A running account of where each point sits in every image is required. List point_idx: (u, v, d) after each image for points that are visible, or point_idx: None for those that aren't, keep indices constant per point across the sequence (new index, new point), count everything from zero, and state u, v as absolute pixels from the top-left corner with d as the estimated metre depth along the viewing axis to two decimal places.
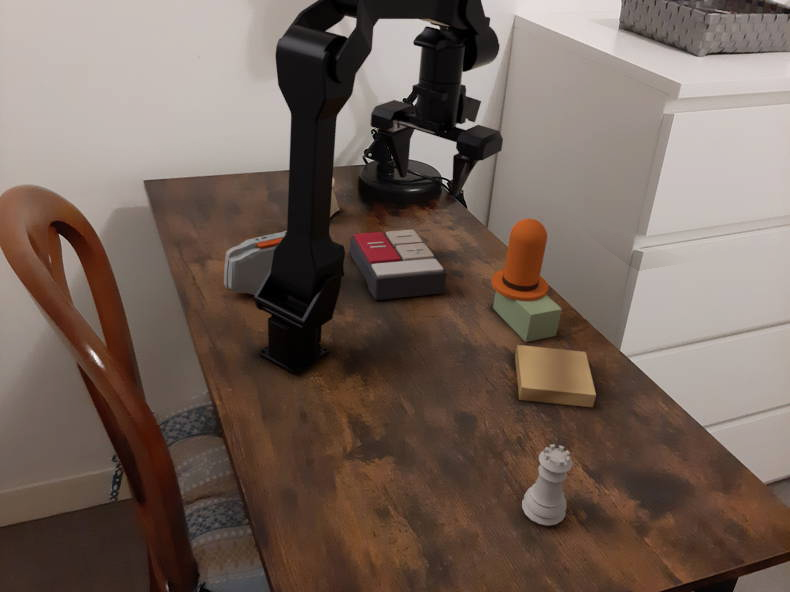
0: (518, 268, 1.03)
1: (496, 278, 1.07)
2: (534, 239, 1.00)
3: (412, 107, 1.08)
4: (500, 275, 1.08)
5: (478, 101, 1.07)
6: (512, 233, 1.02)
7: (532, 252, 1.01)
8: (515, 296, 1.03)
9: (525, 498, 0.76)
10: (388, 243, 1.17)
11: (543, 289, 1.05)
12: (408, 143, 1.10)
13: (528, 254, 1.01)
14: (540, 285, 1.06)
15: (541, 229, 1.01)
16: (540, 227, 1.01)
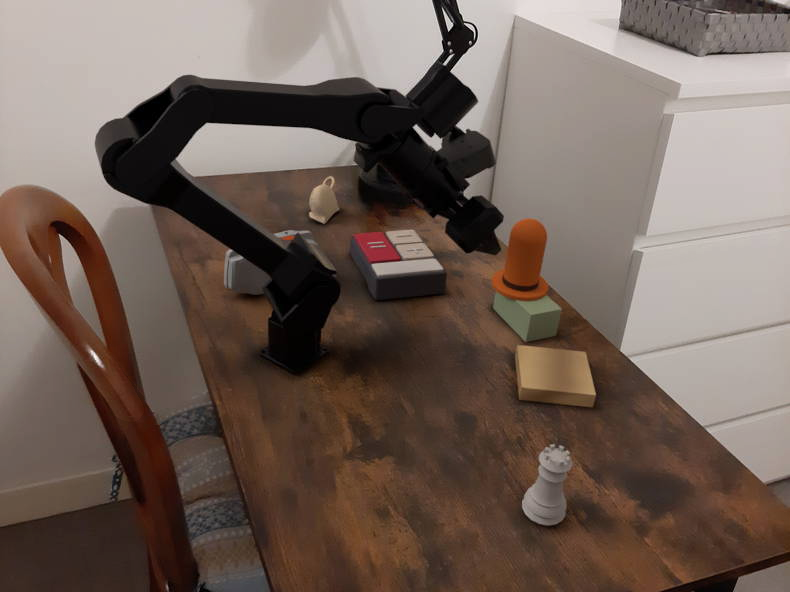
0: (518, 268, 1.03)
1: (496, 278, 1.07)
2: (534, 239, 1.00)
3: None
4: (500, 275, 1.08)
5: (482, 149, 0.90)
6: (512, 233, 1.02)
7: (532, 252, 1.01)
8: (515, 296, 1.03)
9: (525, 498, 0.76)
10: (388, 243, 1.17)
11: (543, 289, 1.05)
12: None
13: (528, 254, 1.01)
14: (540, 285, 1.06)
15: (541, 228, 1.01)
16: (540, 227, 1.01)
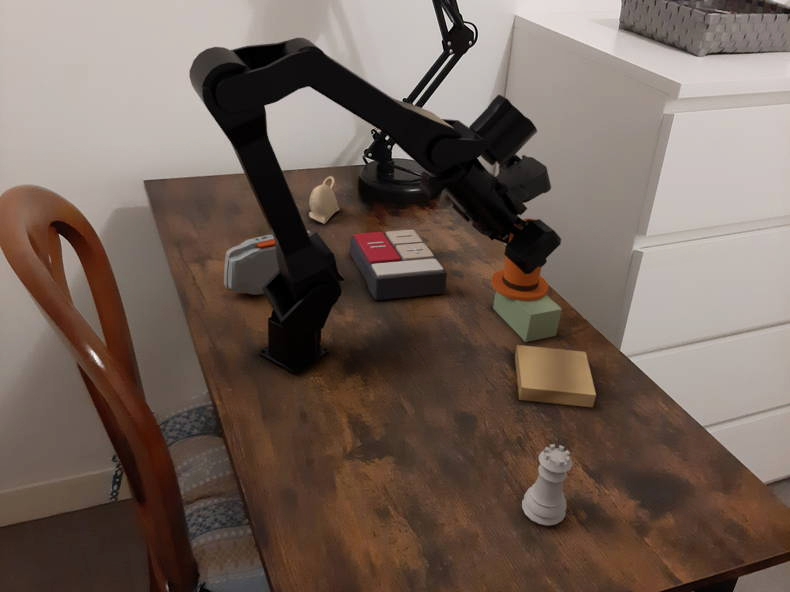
0: None
1: (496, 278, 1.07)
2: None
3: None
4: (500, 275, 1.08)
5: (539, 175, 0.95)
6: None
7: None
8: (515, 296, 1.03)
9: (525, 498, 0.76)
10: (388, 243, 1.17)
11: (543, 289, 1.05)
12: None
13: None
14: (540, 285, 1.06)
15: None
16: None
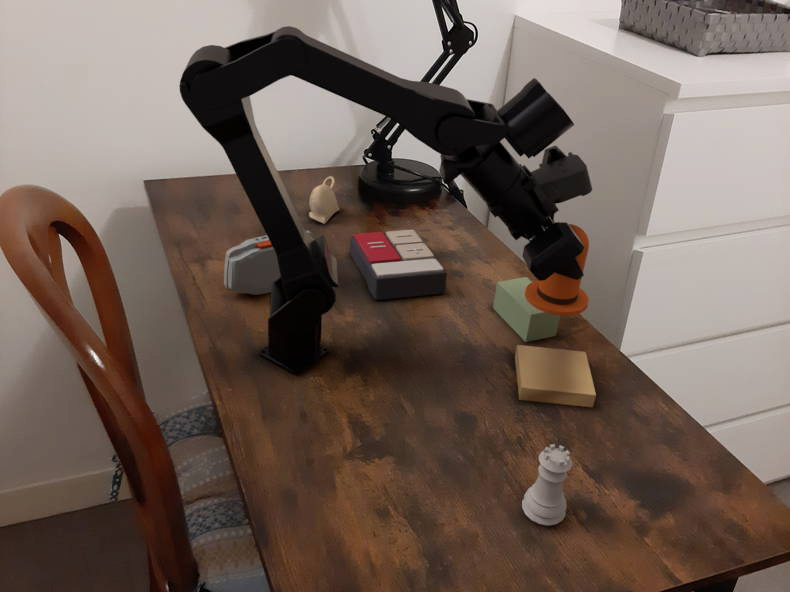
0: (551, 277, 0.93)
1: (532, 286, 0.97)
2: None
3: None
4: (538, 284, 0.98)
5: (575, 174, 0.85)
6: None
7: None
8: (543, 307, 0.93)
9: (525, 498, 0.76)
10: (388, 243, 1.17)
11: (580, 306, 0.94)
12: None
13: None
14: (578, 301, 0.95)
15: (580, 236, 0.90)
16: (580, 235, 0.90)
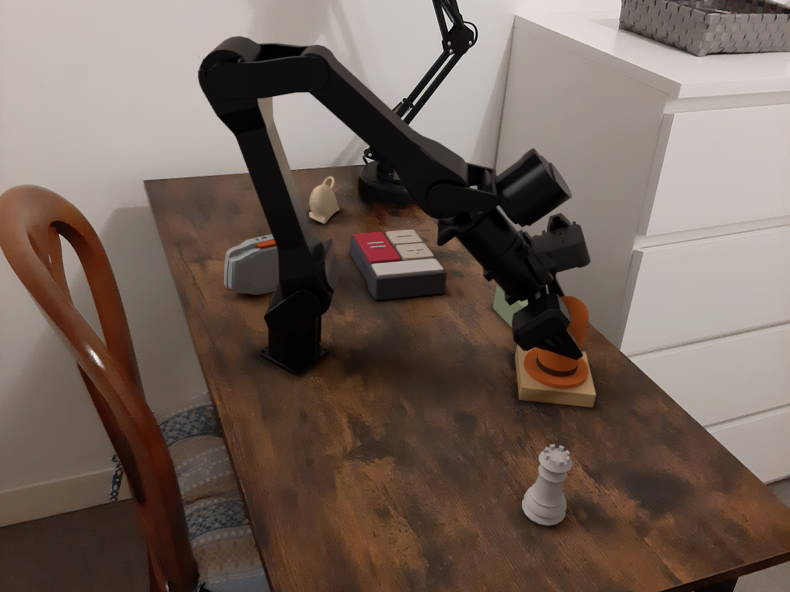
0: None
1: (533, 353, 0.96)
2: None
3: None
4: None
5: (571, 246, 0.83)
6: None
7: None
8: (537, 377, 0.92)
9: (525, 498, 0.76)
10: (388, 243, 1.17)
11: (576, 379, 0.92)
12: (554, 283, 0.94)
13: None
14: (576, 374, 0.93)
15: (578, 311, 0.89)
16: (578, 309, 0.89)
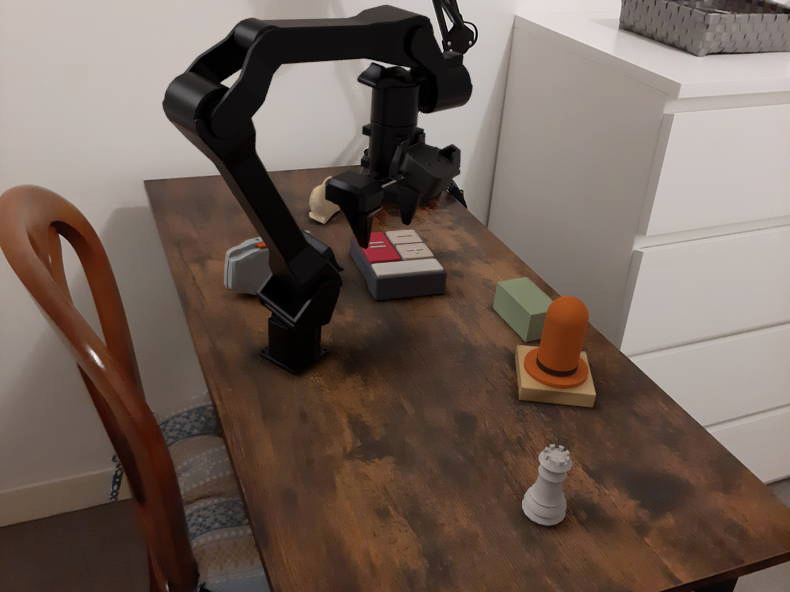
0: (547, 347, 0.91)
1: (533, 353, 0.96)
2: (565, 320, 0.89)
3: None
4: None
5: (427, 173, 0.87)
6: (548, 308, 0.91)
7: (562, 334, 0.89)
8: (537, 377, 0.92)
9: (525, 498, 0.76)
10: (388, 243, 1.17)
11: (576, 379, 0.92)
12: (416, 192, 0.99)
13: (558, 335, 0.90)
14: (576, 374, 0.93)
15: (578, 311, 0.89)
16: (578, 309, 0.89)
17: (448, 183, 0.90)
